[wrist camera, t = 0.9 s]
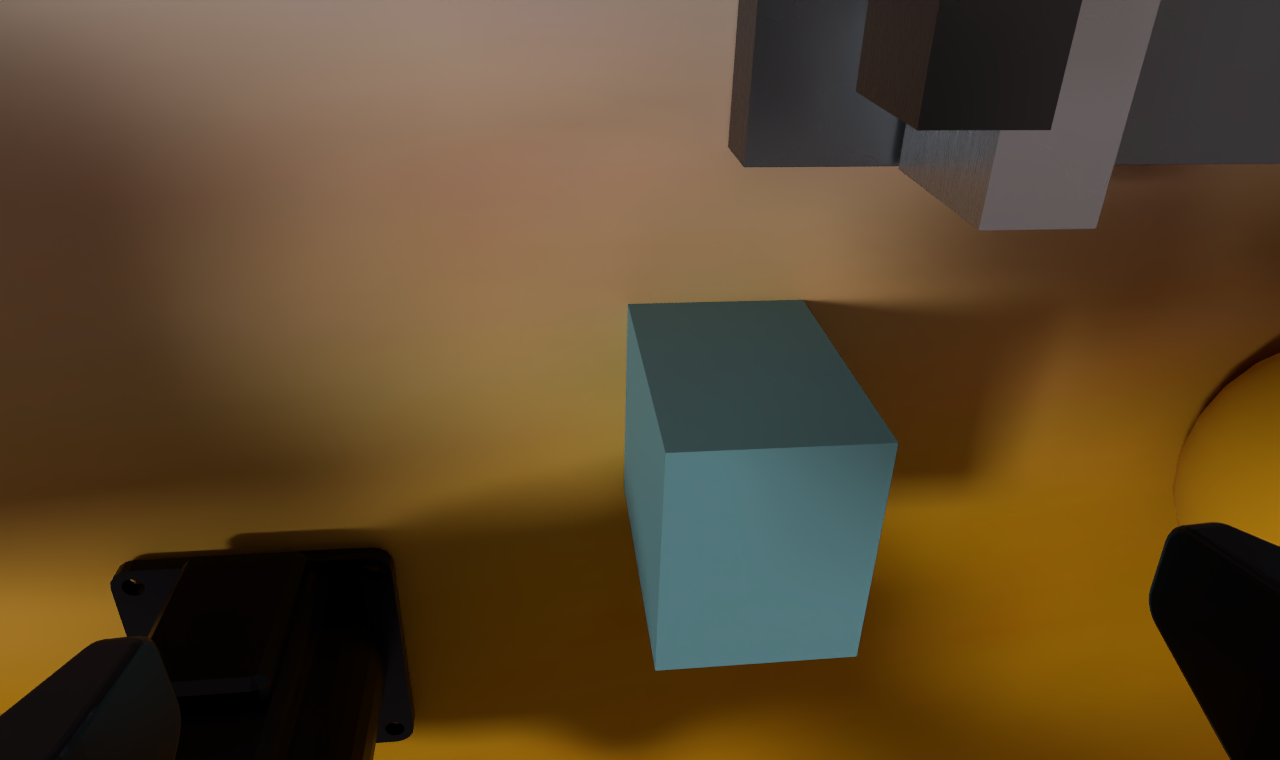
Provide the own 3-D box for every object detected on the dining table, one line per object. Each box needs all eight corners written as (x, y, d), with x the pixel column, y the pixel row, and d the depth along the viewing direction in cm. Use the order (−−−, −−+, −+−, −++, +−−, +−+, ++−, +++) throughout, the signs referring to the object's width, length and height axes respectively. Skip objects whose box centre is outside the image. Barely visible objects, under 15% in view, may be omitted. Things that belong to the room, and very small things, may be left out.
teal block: (780, 479, 23) (856, 656, 18) (623, 486, 22) (655, 671, 17) (802, 299, 21) (898, 442, 15) (627, 303, 20) (665, 452, 15)
